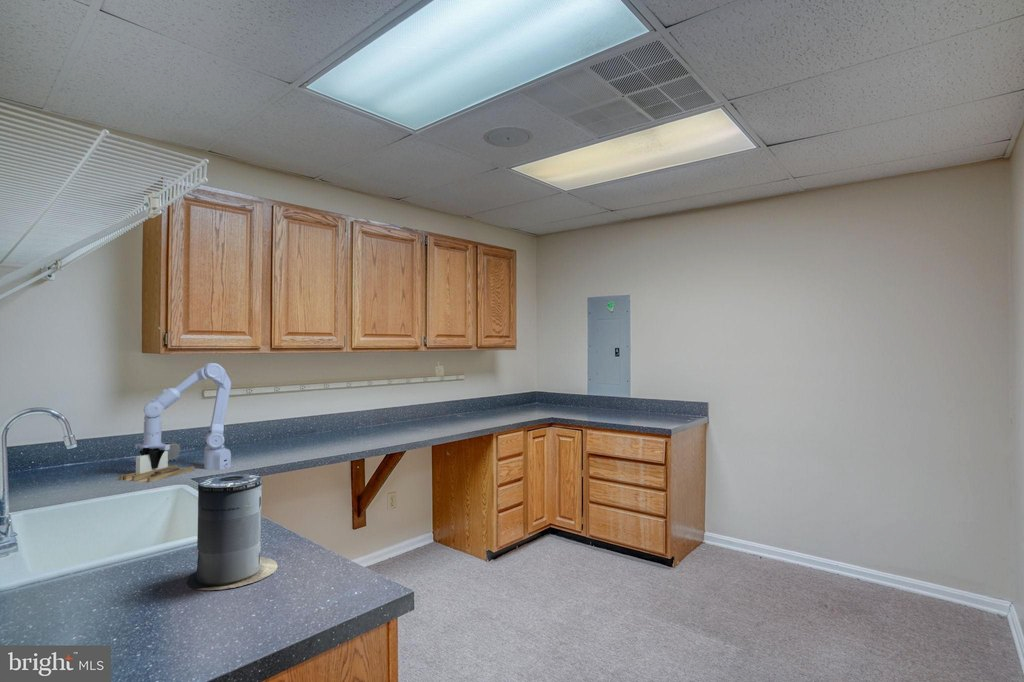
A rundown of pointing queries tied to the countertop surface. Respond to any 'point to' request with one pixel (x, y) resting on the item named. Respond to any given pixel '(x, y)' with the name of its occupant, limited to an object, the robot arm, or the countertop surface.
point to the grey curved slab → (172, 450)
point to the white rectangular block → (145, 463)
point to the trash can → (229, 534)
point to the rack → (147, 476)
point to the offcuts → (164, 471)
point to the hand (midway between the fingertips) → (152, 467)
